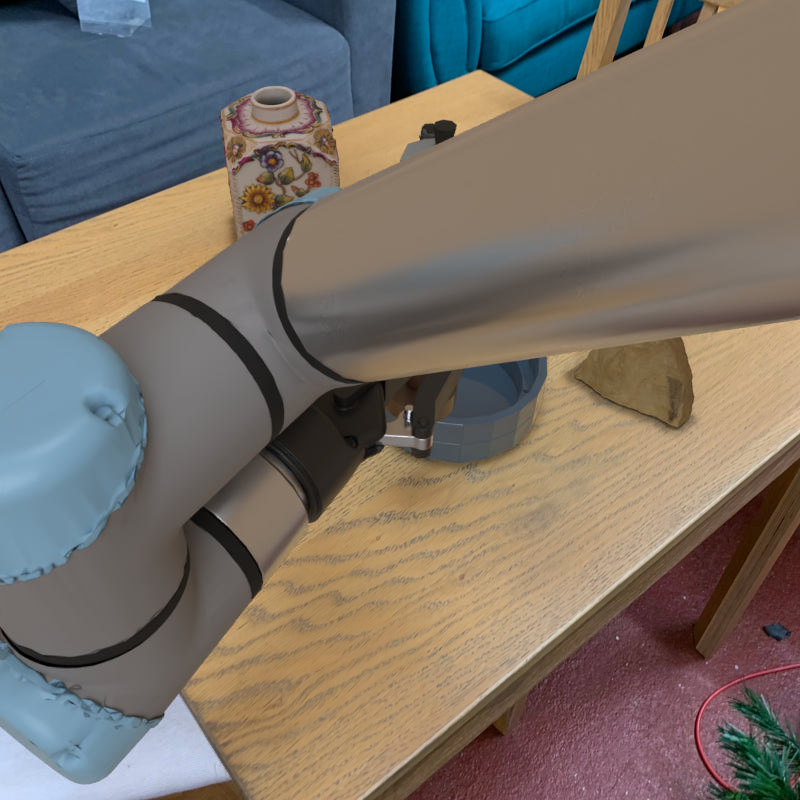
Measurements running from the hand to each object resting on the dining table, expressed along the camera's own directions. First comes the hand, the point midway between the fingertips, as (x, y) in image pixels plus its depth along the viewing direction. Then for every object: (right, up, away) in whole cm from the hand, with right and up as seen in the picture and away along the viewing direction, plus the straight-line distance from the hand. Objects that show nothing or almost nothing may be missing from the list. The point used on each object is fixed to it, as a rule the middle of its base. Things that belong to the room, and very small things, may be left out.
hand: (463, 252), depth 54 cm
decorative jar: (-18, +8, +37) cm, 42 cm away
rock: (+18, -10, +21) cm, 30 cm away
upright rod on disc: (-3, -10, +4) cm, 11 cm away
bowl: (0, -10, +20) cm, 23 cm away
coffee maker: (-1, +5, +35) cm, 35 cm away
